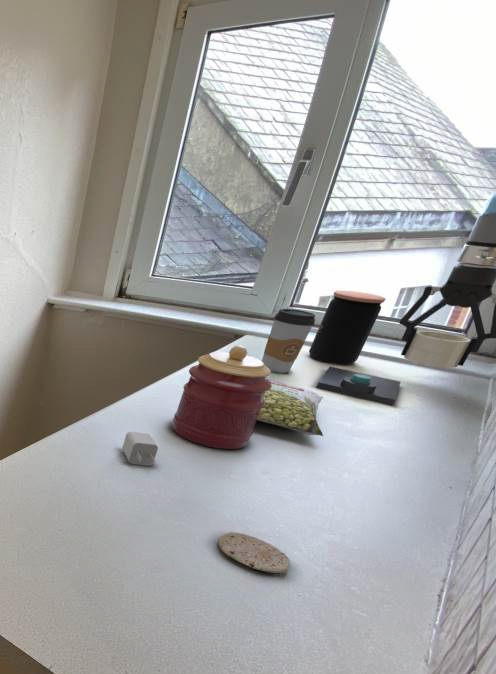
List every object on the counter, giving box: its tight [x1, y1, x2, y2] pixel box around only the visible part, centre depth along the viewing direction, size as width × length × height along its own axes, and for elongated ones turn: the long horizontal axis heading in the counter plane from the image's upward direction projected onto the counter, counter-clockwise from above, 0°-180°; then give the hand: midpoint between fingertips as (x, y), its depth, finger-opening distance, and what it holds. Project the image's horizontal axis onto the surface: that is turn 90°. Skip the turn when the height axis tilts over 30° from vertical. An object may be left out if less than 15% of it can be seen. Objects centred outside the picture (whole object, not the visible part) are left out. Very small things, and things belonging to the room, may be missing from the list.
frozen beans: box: [257, 380, 324, 437], centre depth 115 cm, size 21×6×25 cm
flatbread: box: [217, 531, 290, 574], centre depth 71 cm, size 8×8×1 cm
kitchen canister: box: [172, 345, 272, 450], centre depth 101 cm, size 13×13×18 cm
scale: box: [316, 366, 401, 406], centre depth 132 cm, size 14×19×3 cm
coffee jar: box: [308, 290, 386, 366], centre depth 149 cm, size 11×11×18 cm
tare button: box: [351, 374, 371, 385], centre depth 127 cm, size 3×3×2 cm
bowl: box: [403, 330, 471, 370], centre depth 134 cm, size 10×10×7 cm
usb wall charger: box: [121, 431, 159, 466], centre depth 93 cm, size 4×7×4 cm, turn 169°
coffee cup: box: [261, 308, 316, 374], centre depth 140 cm, size 8×8×15 cm
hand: (431, 359), depth 135 cm, fingers closed on bowl, 10 cm apart
